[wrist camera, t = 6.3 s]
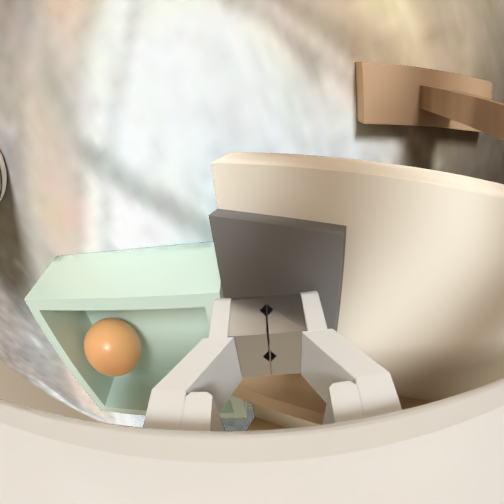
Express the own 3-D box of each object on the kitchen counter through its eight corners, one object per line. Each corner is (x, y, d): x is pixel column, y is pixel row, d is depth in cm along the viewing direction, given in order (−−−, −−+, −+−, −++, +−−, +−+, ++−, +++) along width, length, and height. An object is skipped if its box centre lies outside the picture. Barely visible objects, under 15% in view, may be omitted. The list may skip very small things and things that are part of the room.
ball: (79, 358, 16) (70, 320, 18) (106, 396, 18) (93, 358, 21) (137, 332, 17) (120, 297, 20) (157, 372, 19) (138, 337, 22)
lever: (601, 180, 7) (691, 285, 1) (505, 387, 16) (501, 496, 9) (292, 121, 14) (176, 181, 8) (298, 348, 23) (245, 447, 16)
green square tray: (226, 240, 18) (219, 292, 14) (247, 368, 24) (247, 417, 20) (56, 256, 18) (24, 299, 14) (114, 368, 24) (100, 410, 21)
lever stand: (481, 78, 12) (642, 135, 3) (422, 355, 24) (463, 463, 14) (355, 60, 12) (530, 70, 3) (337, 370, 24) (360, 494, 15)
